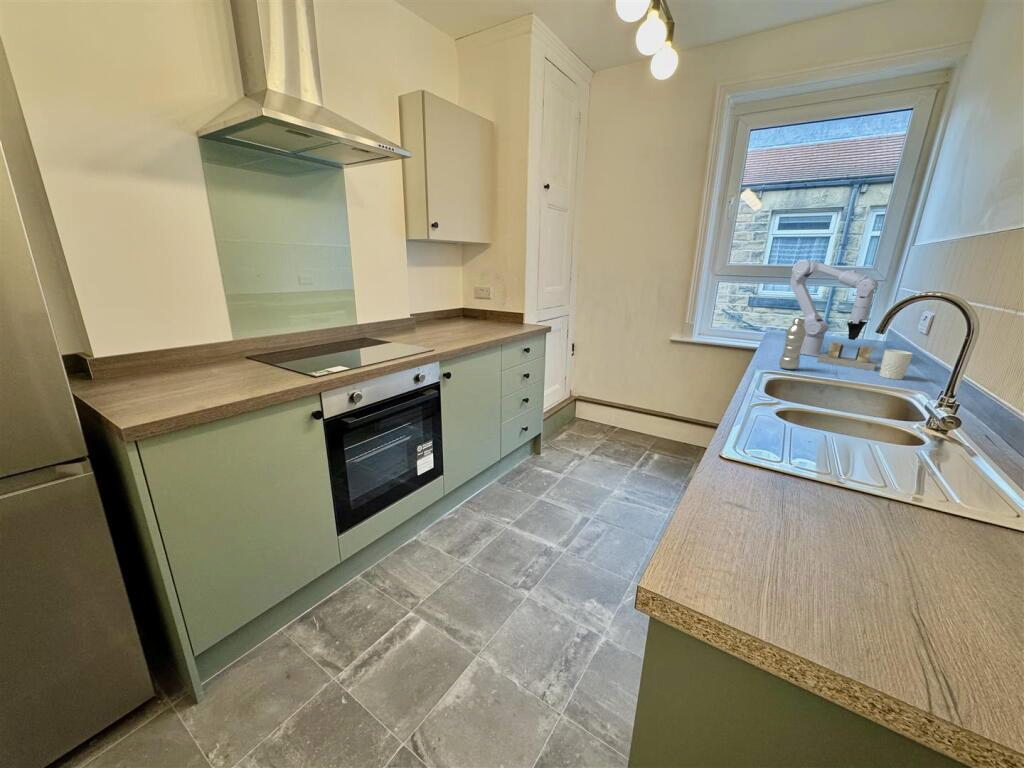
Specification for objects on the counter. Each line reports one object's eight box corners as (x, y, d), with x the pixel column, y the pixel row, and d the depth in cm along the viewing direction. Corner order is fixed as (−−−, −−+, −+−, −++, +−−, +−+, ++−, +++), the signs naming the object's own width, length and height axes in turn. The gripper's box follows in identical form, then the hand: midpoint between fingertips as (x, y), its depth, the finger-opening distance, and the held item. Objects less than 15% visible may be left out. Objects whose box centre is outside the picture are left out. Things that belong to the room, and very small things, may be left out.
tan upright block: (867, 363, 169) (872, 347, 167) (866, 365, 167) (871, 348, 165) (855, 362, 172) (859, 345, 170) (854, 363, 169) (858, 346, 167)
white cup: (872, 375, 157) (880, 350, 154) (883, 373, 160) (891, 348, 157) (898, 381, 150) (906, 354, 147) (909, 379, 154) (917, 353, 151)
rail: (816, 362, 177) (818, 356, 176) (820, 359, 182) (821, 353, 181) (873, 371, 164) (875, 364, 163) (875, 367, 169) (877, 361, 168)
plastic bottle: (801, 371, 160) (814, 320, 154) (784, 370, 160) (796, 319, 154) (791, 367, 166) (802, 318, 160) (774, 366, 166) (785, 317, 161)
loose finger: (826, 359, 176) (830, 343, 174) (828, 357, 178) (832, 342, 176) (838, 361, 173) (842, 344, 171) (839, 359, 176) (844, 343, 174)
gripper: (871, 309, 167) (862, 342, 171) (875, 307, 176) (866, 338, 180) (850, 307, 171) (841, 339, 175) (854, 305, 181) (846, 335, 185)
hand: (852, 338), depth 178 cm, fingers open, 7 cm apart
